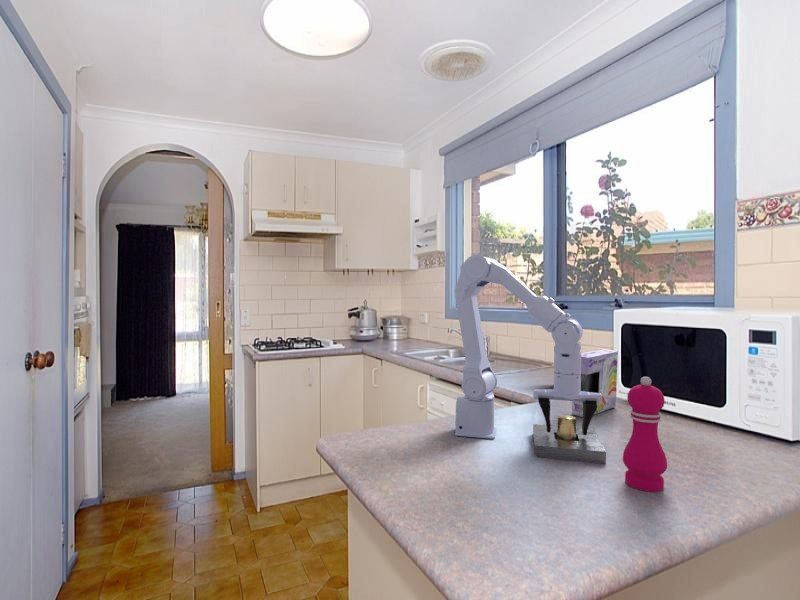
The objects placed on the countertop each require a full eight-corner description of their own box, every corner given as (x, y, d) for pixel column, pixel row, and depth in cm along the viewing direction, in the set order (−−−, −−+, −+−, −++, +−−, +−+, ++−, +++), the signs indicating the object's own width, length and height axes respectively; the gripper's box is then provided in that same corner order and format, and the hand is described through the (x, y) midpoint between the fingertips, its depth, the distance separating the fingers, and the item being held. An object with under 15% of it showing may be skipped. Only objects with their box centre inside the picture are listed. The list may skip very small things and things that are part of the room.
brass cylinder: (556, 449, 102) (556, 418, 102) (557, 444, 106) (558, 414, 105) (575, 452, 100) (575, 421, 100) (576, 446, 104) (576, 416, 104)
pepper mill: (662, 479, 86) (664, 374, 86) (671, 495, 79) (673, 381, 79) (619, 474, 88) (621, 371, 88) (625, 489, 82) (627, 378, 81)
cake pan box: (585, 419, 126) (586, 355, 126) (568, 415, 130) (569, 353, 130) (618, 408, 138) (619, 350, 138) (602, 404, 142) (603, 348, 142)
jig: (535, 456, 97) (535, 445, 97) (533, 434, 113) (533, 424, 113) (605, 463, 94) (606, 451, 94) (593, 439, 109) (593, 428, 109)
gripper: (534, 374, 101) (533, 434, 101) (605, 377, 97) (603, 440, 98) (533, 368, 108) (532, 425, 108) (599, 372, 104) (598, 430, 104)
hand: (566, 432), depth 103 cm, fingers open, 7 cm apart
